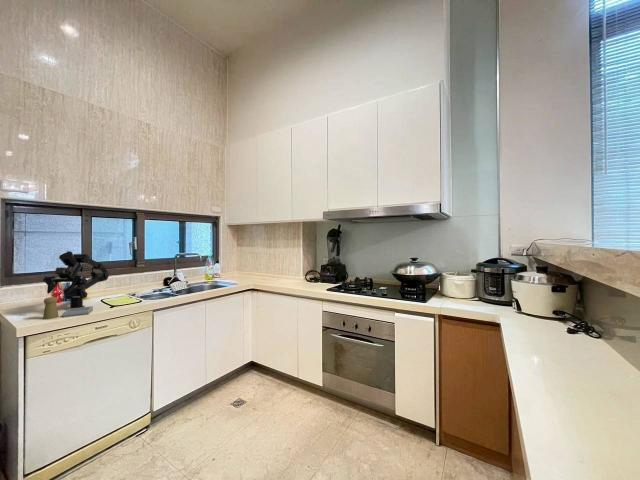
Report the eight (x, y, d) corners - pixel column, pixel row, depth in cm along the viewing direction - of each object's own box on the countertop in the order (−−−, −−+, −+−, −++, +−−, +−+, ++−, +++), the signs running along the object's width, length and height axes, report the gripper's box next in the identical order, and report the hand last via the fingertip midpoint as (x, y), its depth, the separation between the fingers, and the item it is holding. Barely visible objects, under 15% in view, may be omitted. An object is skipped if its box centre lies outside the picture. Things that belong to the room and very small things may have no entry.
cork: (48, 319, 136) (48, 298, 136) (39, 319, 137) (39, 298, 137) (61, 316, 142) (61, 296, 142) (53, 315, 143) (53, 295, 143)
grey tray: (69, 312, 149) (69, 308, 149) (92, 310, 154) (92, 306, 154) (62, 317, 140) (62, 313, 140) (88, 314, 145) (88, 310, 145)
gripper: (45, 262, 147) (28, 284, 136) (84, 261, 151) (70, 283, 141) (56, 274, 155) (40, 296, 144) (92, 273, 159) (80, 295, 148)
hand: (57, 292), depth 144 cm, fingers open, 9 cm apart
